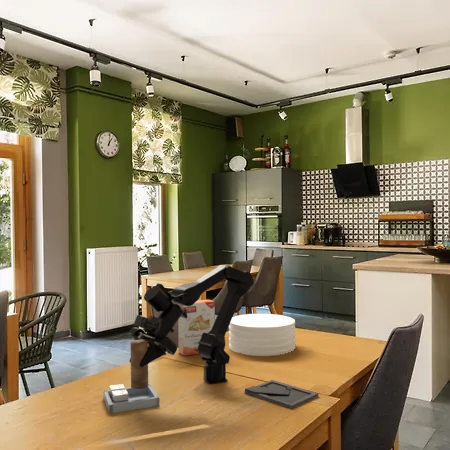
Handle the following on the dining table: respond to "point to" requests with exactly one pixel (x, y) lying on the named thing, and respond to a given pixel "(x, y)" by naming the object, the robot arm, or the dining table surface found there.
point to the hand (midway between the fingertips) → (135, 364)
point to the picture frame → (281, 394)
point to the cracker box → (195, 325)
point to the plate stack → (262, 334)
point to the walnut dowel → (137, 373)
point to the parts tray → (133, 400)
